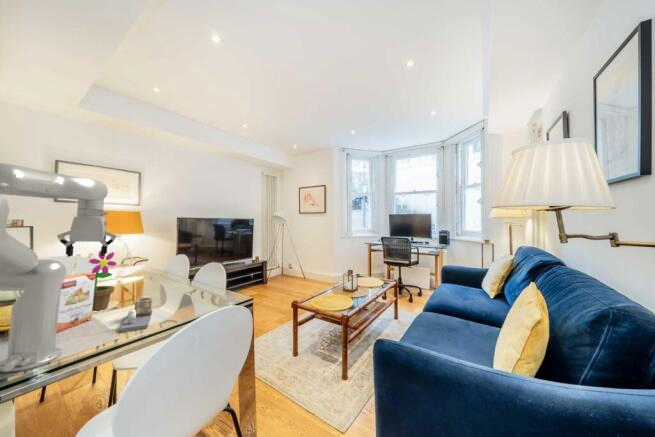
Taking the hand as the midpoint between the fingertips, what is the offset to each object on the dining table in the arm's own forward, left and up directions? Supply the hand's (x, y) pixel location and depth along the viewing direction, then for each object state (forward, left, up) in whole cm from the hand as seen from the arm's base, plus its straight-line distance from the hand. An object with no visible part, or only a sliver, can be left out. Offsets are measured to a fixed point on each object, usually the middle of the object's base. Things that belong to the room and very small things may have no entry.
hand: (86, 255), depth 96 cm
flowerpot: (+30, +3, -31) cm, 43 cm away
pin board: (+3, -17, -30) cm, 35 cm away
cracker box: (+10, +6, -31) cm, 33 cm away
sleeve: (+8, -19, -29) cm, 35 cm away
